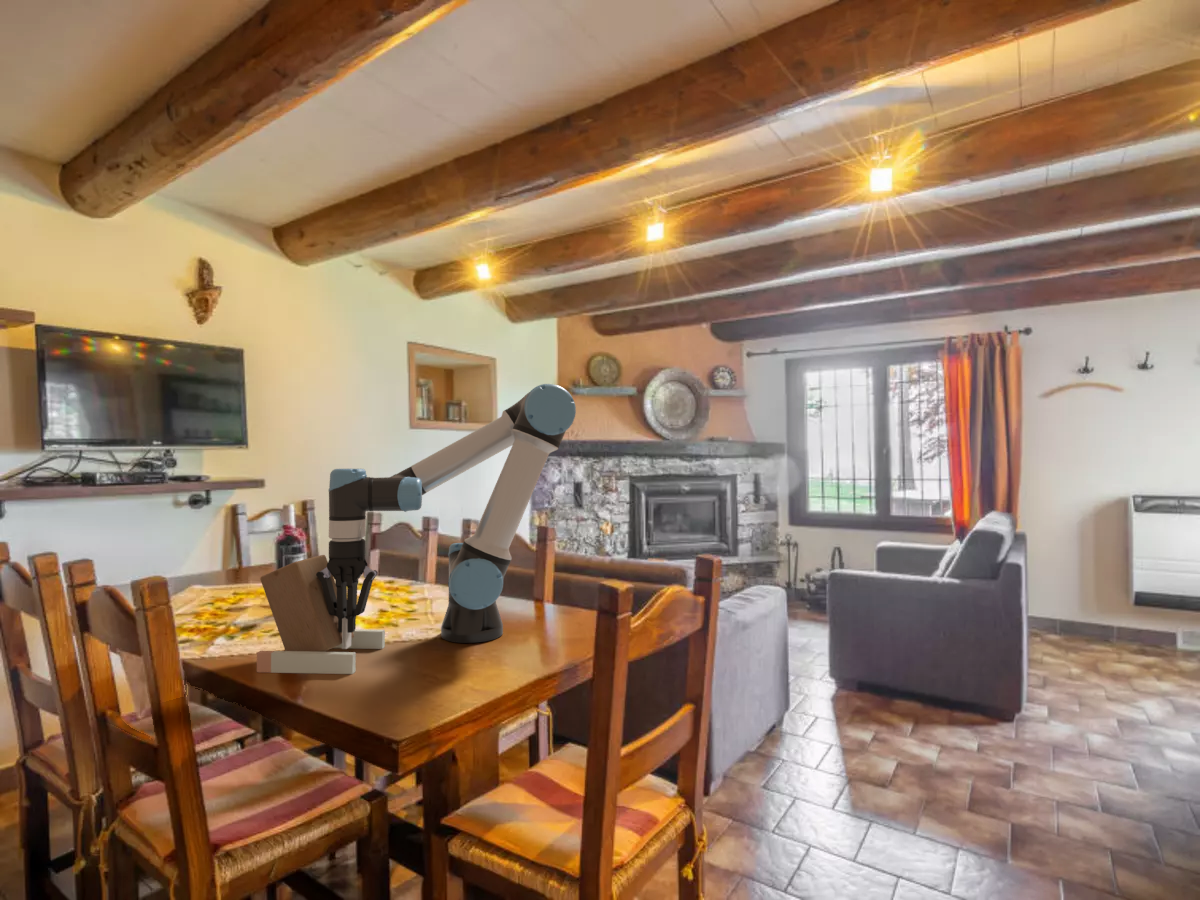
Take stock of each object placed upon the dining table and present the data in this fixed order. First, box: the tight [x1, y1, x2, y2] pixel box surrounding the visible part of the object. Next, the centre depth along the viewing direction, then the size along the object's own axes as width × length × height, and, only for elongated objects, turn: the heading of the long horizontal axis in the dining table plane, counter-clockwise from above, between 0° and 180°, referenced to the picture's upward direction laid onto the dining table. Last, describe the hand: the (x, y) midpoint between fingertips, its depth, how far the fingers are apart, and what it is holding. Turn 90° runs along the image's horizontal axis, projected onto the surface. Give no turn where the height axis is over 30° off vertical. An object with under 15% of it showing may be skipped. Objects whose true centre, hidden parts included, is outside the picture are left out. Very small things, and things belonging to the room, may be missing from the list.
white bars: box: [256, 628, 386, 675], centre depth 141 cm, size 20×18×4 cm
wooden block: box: [259, 554, 354, 652], centre depth 141 cm, size 10×10×20 cm
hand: (346, 647), depth 140 cm, fingers closed
